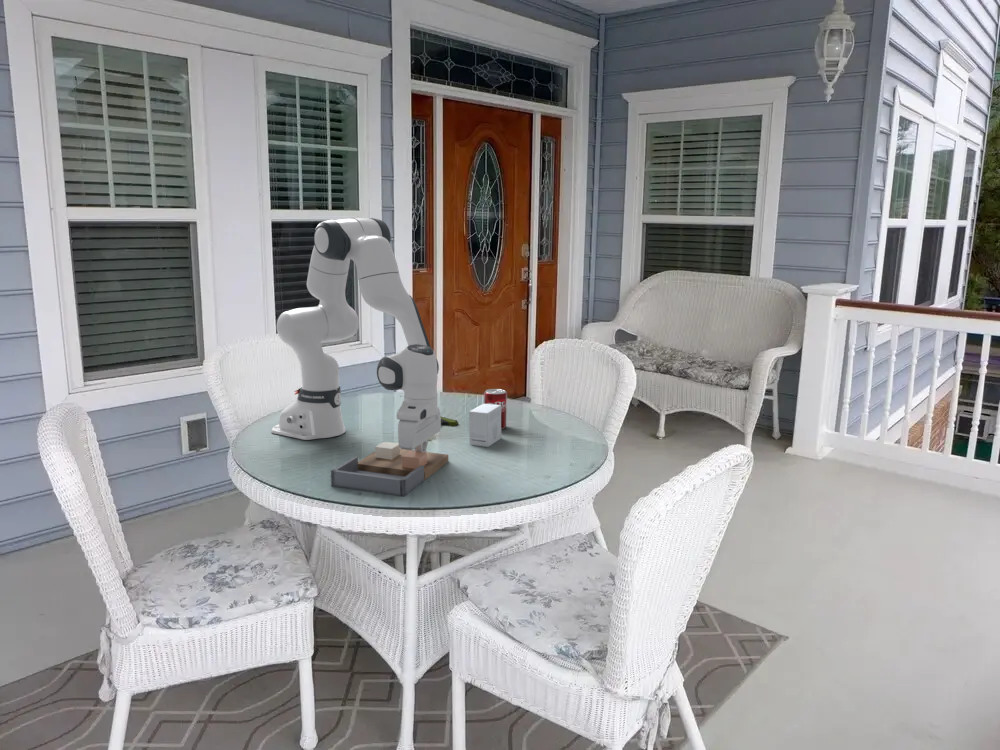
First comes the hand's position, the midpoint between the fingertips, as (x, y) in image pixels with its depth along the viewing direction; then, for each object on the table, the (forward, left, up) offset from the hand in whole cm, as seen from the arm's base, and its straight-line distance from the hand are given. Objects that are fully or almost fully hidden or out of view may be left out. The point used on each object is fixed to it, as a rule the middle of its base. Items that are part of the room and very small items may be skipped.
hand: (421, 456), depth 208 cm
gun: (-17, +42, -4) cm, 45 cm away
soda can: (+6, +45, -4) cm, 45 cm away
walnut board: (-5, 0, -3) cm, 6 cm away
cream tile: (-10, +1, -1) cm, 10 cm away
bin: (-5, -15, -3) cm, 16 cm away
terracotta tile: (0, -4, -1) cm, 4 cm away
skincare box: (+8, +30, -4) cm, 31 cm away
